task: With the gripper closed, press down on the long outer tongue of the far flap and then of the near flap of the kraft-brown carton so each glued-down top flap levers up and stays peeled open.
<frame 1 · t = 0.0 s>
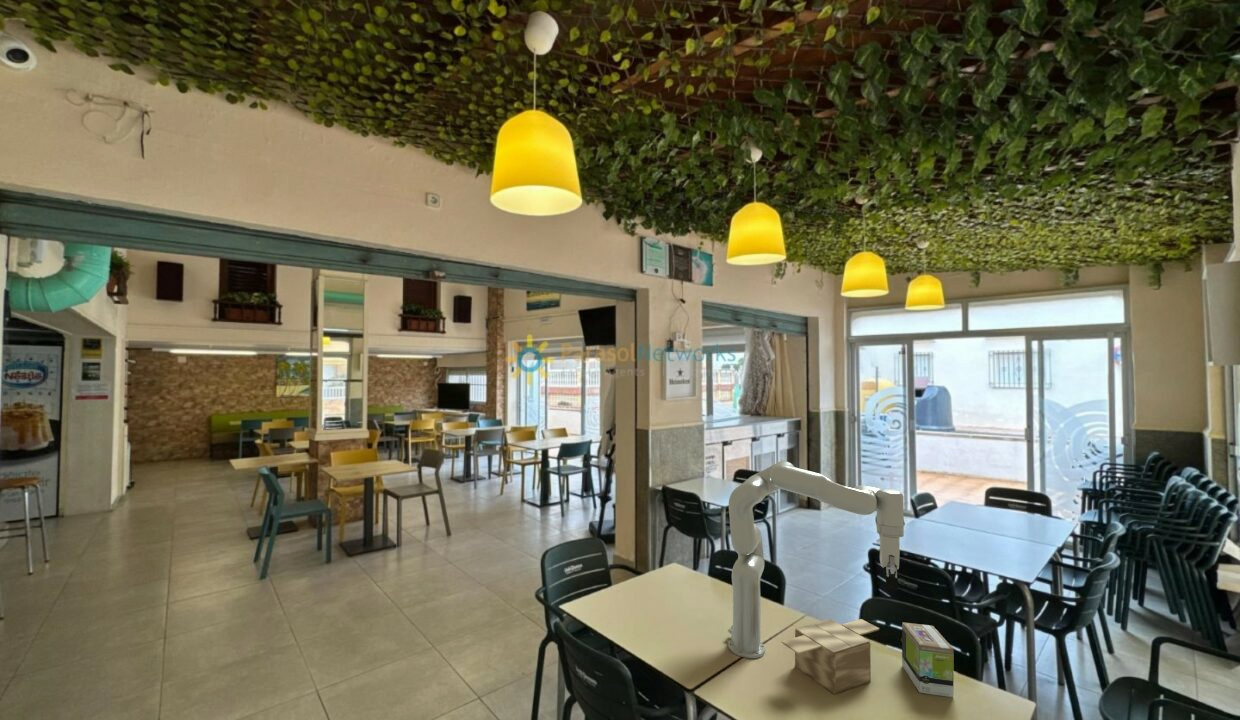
hand: (890, 583, 156), 31 cm above the table, tool pointing down, fingers open, 9 cm apart
carton: (831, 673, 159), on the table
tea box: (926, 681, 156), on the table
far flap: (851, 629, 164), point 12 cm above the table, hinge at 0.0°
near flap: (811, 641, 156), point 12 cm above the table, hinge at 0.0°
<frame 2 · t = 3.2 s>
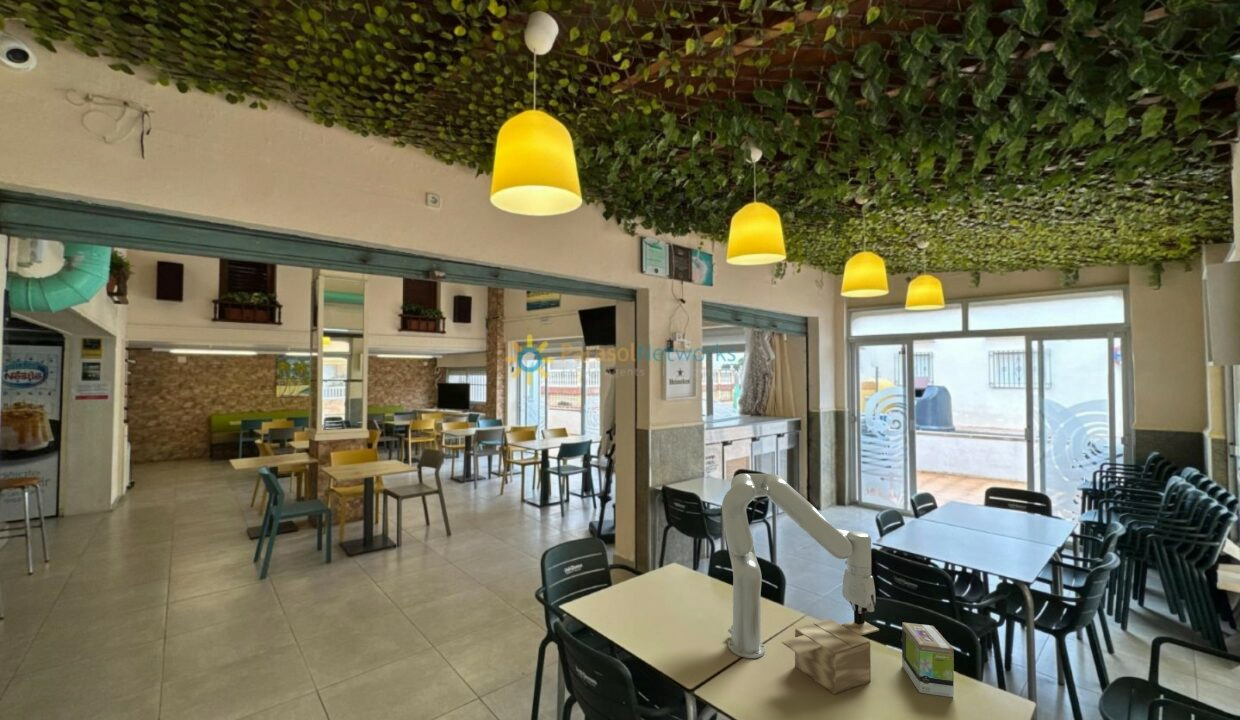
hand: (859, 623, 168), 12 cm above the table, tool pointing down, fingers closed
far flap: (851, 629, 164), point 12 cm above the table, hinge at 1.3°, touching gripper
everything else where it was.
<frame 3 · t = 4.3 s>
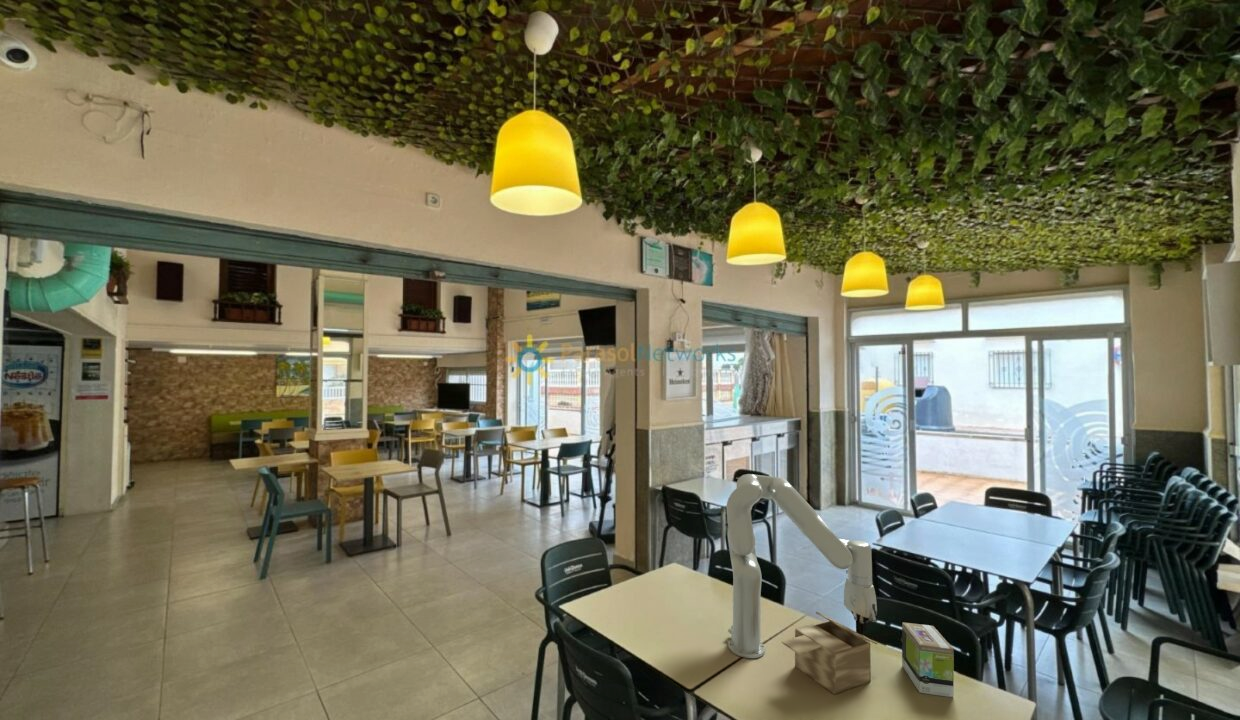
hand: (861, 632, 168), 9 cm above the table, tool pointing down, fingers closed
far flap: (851, 630, 163), point 12 cm above the table, hinge at 28.5°, touching gripper
everything else where it was.
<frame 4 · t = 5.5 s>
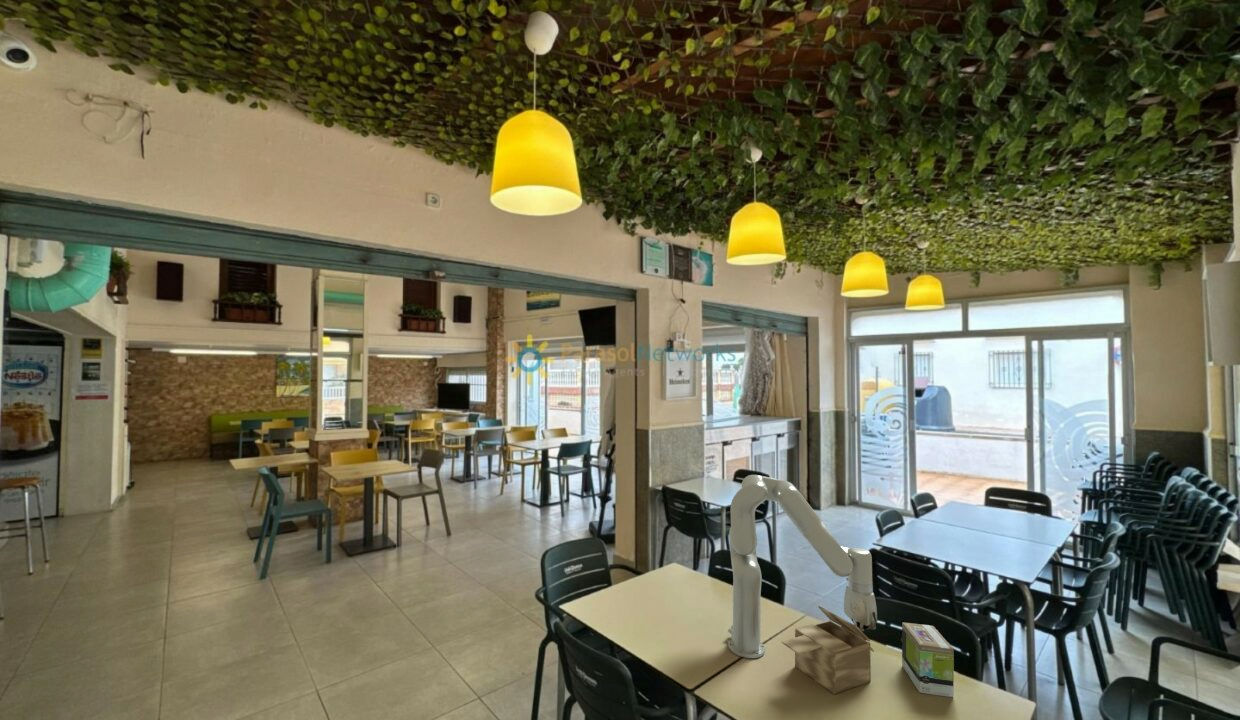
hand: (861, 640, 168), 7 cm above the table, tool pointing down, fingers closed
far flap: (851, 631, 163), point 12 cm above the table, hinge at 43.4°, touching gripper
everything else where it was.
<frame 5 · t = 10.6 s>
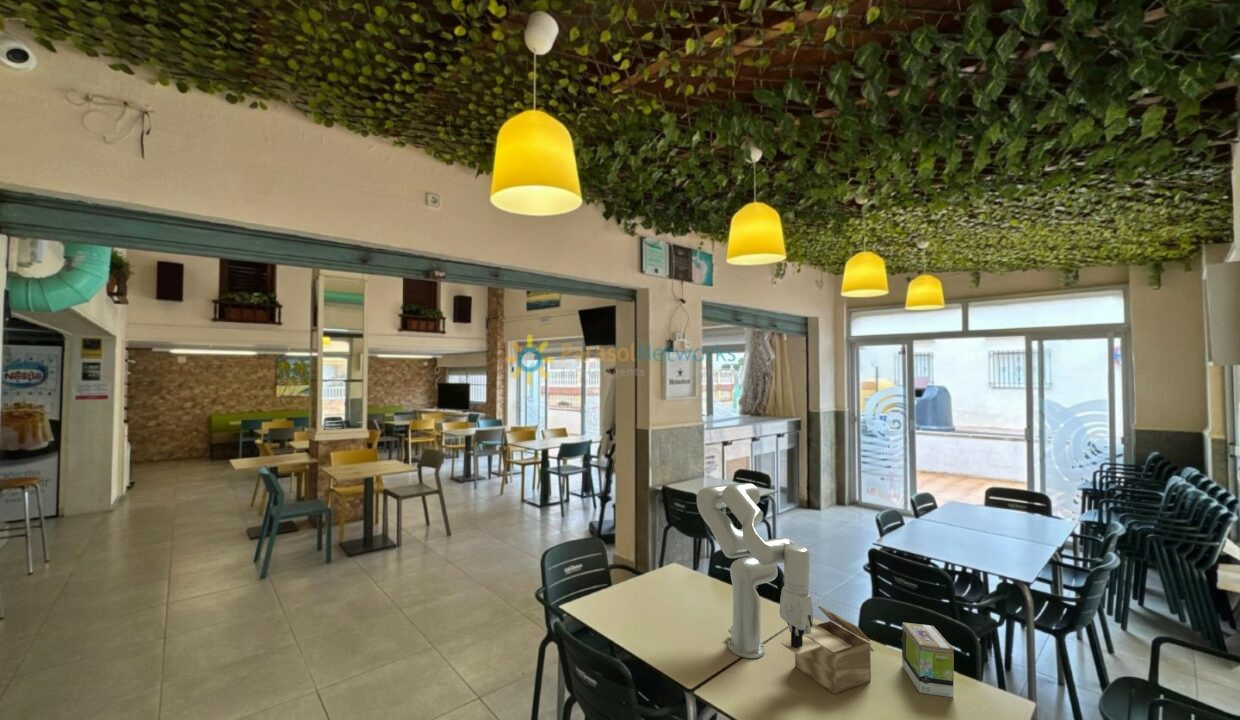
hand: (796, 646, 153), 12 cm above the table, tool pointing down, fingers closed
far flap: (851, 631, 163), point 12 cm above the table, hinge at 43.5°
near flap: (811, 641, 156), point 12 cm above the table, hinge at 2.5°, touching gripper
everything else where it was.
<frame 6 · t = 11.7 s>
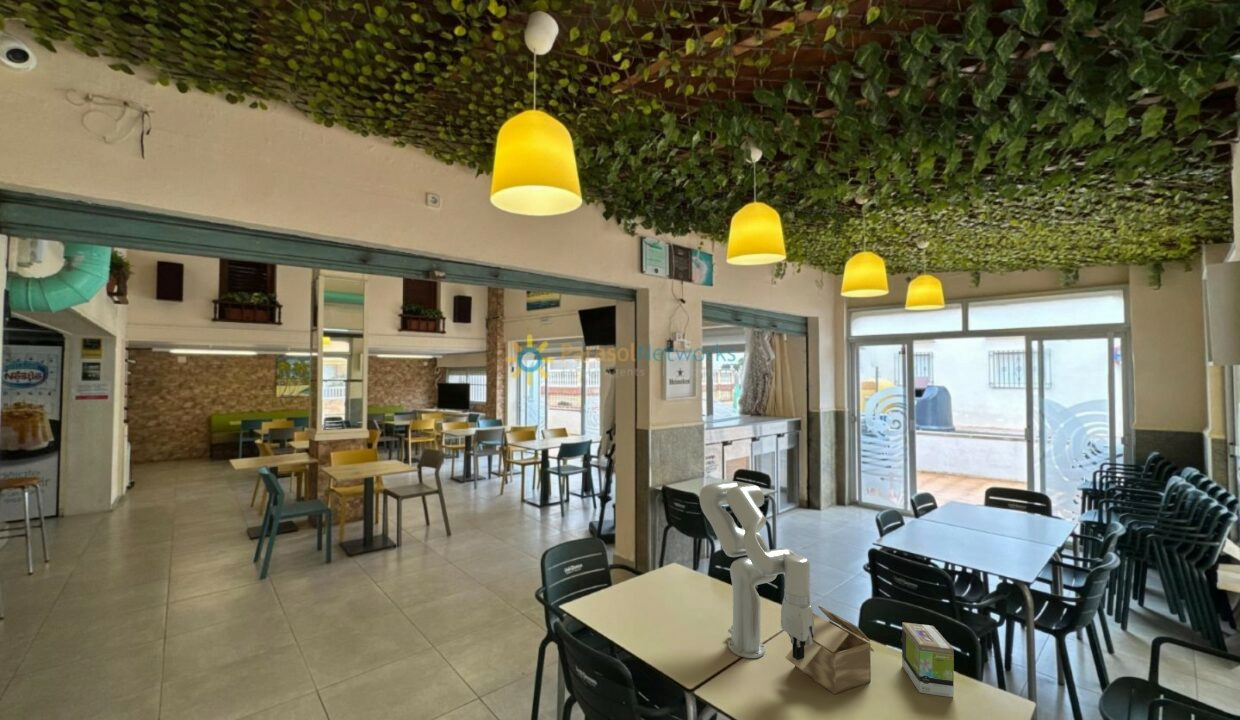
hand: (798, 657, 152), 9 cm above the table, tool pointing down, fingers closed
near flap: (811, 642, 156), point 12 cm above the table, hinge at 32.4°, touching gripper
everything else where it was.
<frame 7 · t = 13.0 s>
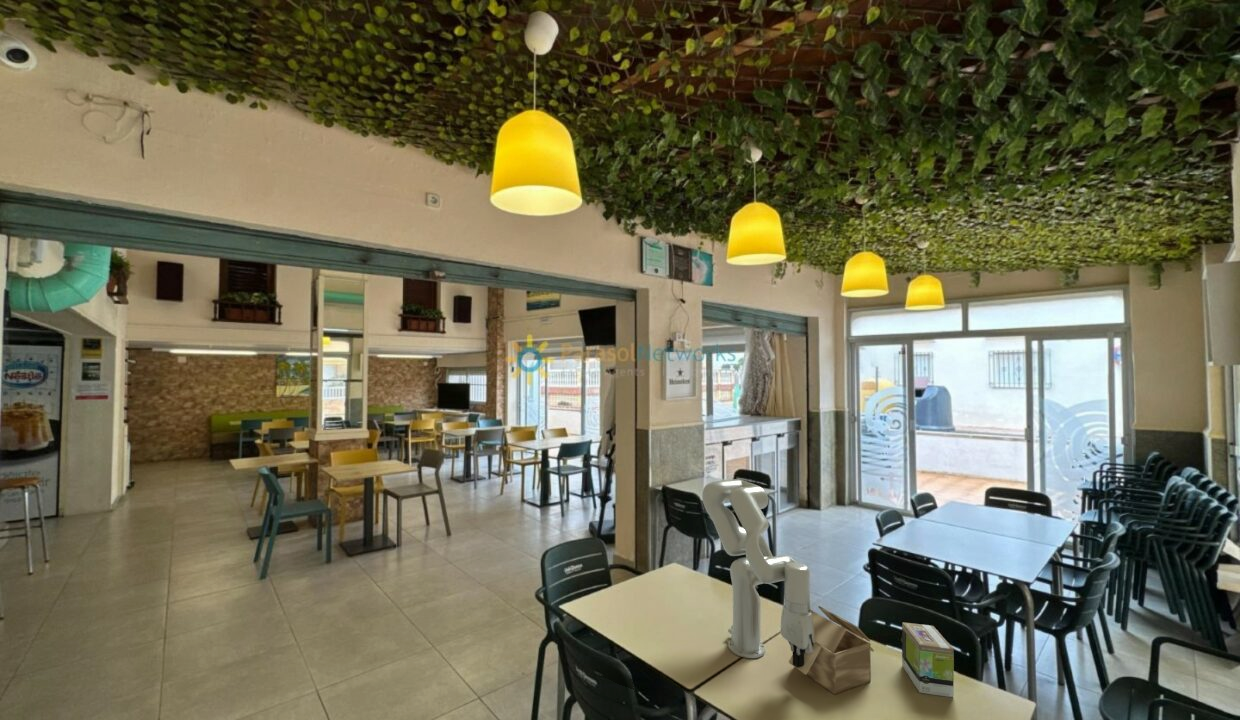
hand: (798, 665, 152), 7 cm above the table, tool pointing down, fingers closed
near flap: (811, 643, 156), point 12 cm above the table, hinge at 45.7°, touching gripper
everything else where it was.
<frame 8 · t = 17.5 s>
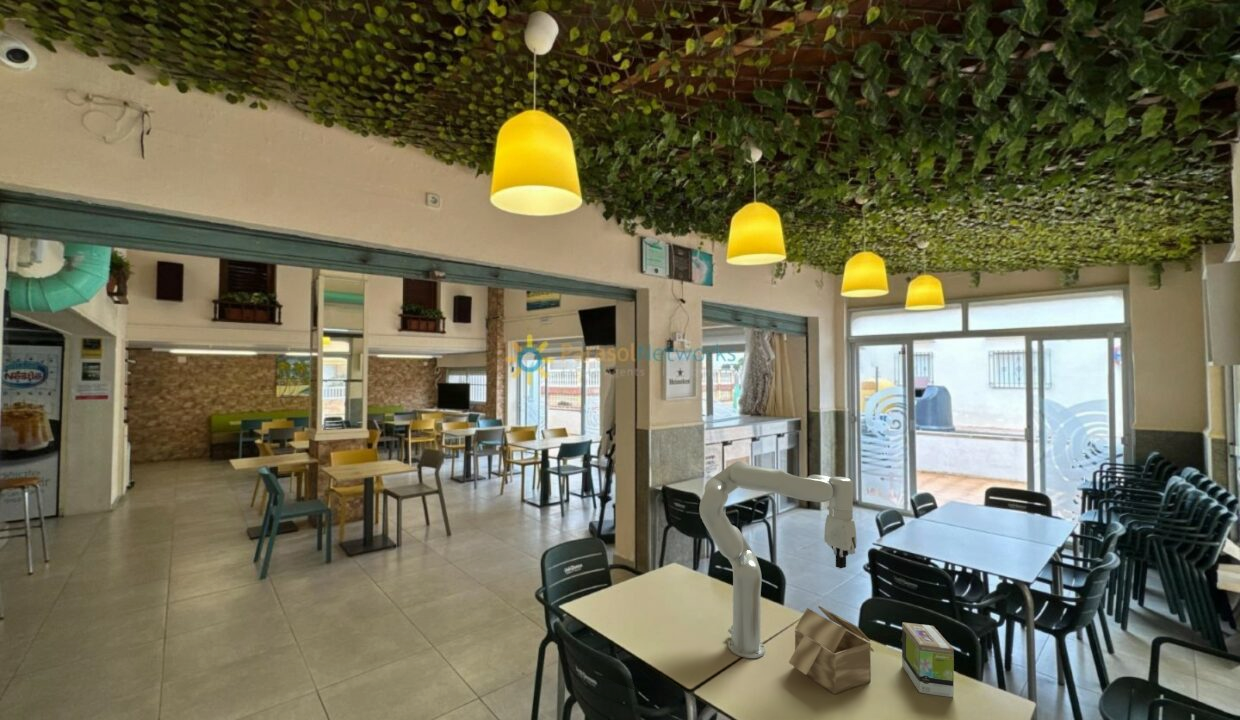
hand: (840, 567, 169), 31 cm above the table, tool pointing down, fingers closed
near flap: (811, 643, 156), point 12 cm above the table, hinge at 46.1°
everything else where it was.
at the end: far flap at +44° (first picture: +0°); near flap at +46° (first picture: +0°) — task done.
